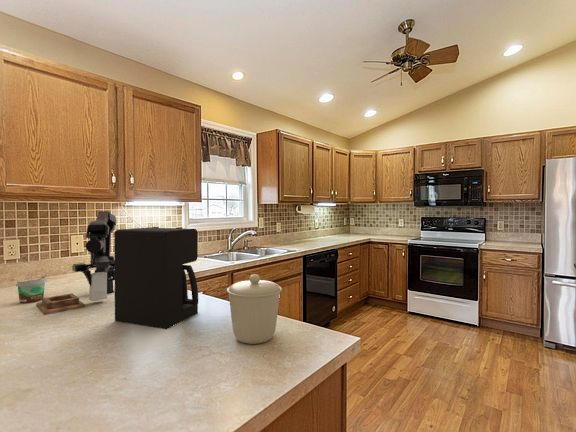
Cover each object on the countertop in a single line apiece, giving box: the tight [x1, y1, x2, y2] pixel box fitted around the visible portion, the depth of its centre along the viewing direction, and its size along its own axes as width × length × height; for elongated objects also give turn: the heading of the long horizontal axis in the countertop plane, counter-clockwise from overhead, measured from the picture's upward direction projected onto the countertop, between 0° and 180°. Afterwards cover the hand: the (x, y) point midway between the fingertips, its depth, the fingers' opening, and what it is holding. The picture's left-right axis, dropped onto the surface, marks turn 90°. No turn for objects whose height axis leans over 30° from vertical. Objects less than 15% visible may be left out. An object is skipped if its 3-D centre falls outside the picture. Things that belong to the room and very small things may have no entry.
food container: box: [15, 276, 48, 304], centre depth 144 cm, size 12×6×10 cm, turn 168°
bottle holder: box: [35, 292, 86, 316], centre depth 136 cm, size 14×18×4 cm
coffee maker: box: [113, 226, 199, 330], centre depth 122 cm, size 28×20×35 cm
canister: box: [226, 273, 283, 345], centre depth 103 cm, size 18×18×21 cm
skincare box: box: [88, 272, 108, 302], centre depth 142 cm, size 6×4×12 cm
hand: (98, 284), depth 142 cm, fingers closed on skincare box, 6 cm apart
